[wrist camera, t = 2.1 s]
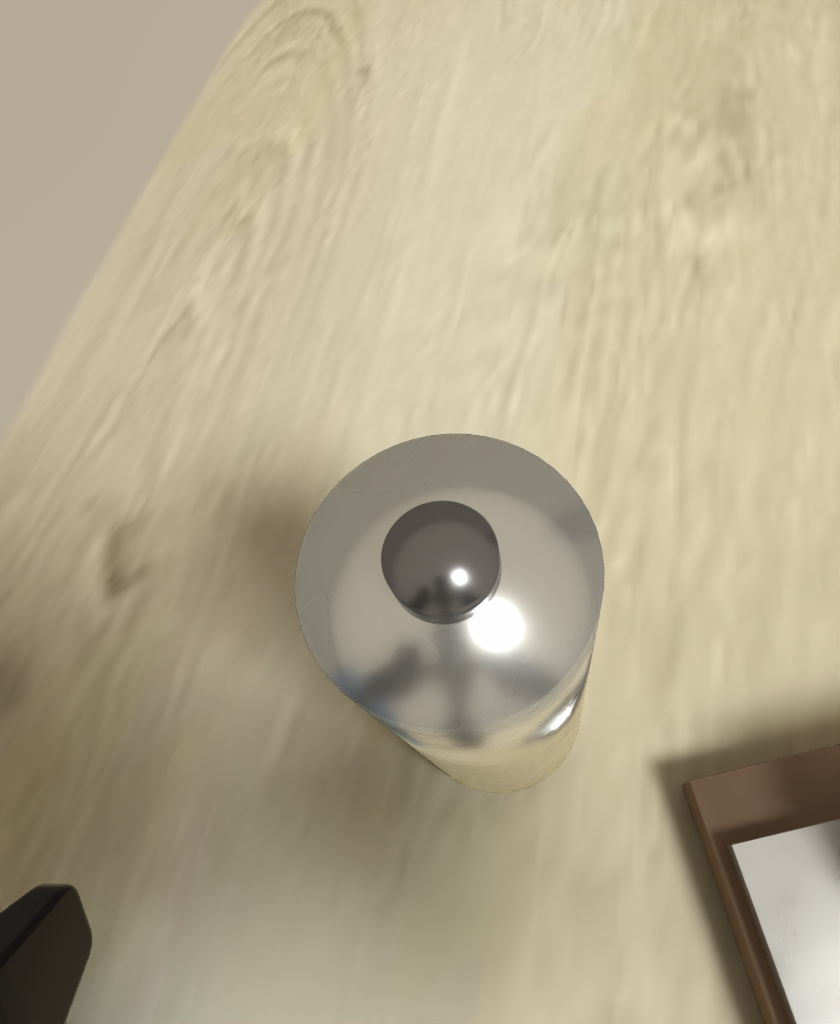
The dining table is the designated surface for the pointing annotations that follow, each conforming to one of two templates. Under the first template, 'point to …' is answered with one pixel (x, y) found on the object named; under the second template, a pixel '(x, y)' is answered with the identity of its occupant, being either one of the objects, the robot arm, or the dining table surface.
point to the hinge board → (757, 813)
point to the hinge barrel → (457, 603)
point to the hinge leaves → (797, 914)
